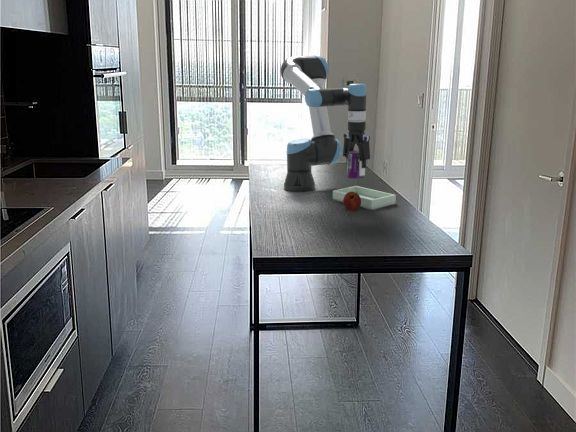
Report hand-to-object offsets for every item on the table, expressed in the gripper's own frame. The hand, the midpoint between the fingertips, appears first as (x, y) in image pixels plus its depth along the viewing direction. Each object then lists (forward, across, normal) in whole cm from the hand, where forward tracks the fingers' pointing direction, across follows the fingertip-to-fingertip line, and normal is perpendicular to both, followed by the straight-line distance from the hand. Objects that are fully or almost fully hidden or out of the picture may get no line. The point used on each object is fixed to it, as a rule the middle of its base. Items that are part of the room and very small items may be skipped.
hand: (355, 174), depth 245 cm
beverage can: (+2, 0, 0) cm, 2 cm away
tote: (+12, +5, 0) cm, 12 cm away
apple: (+12, +12, -14) cm, 22 cm away
